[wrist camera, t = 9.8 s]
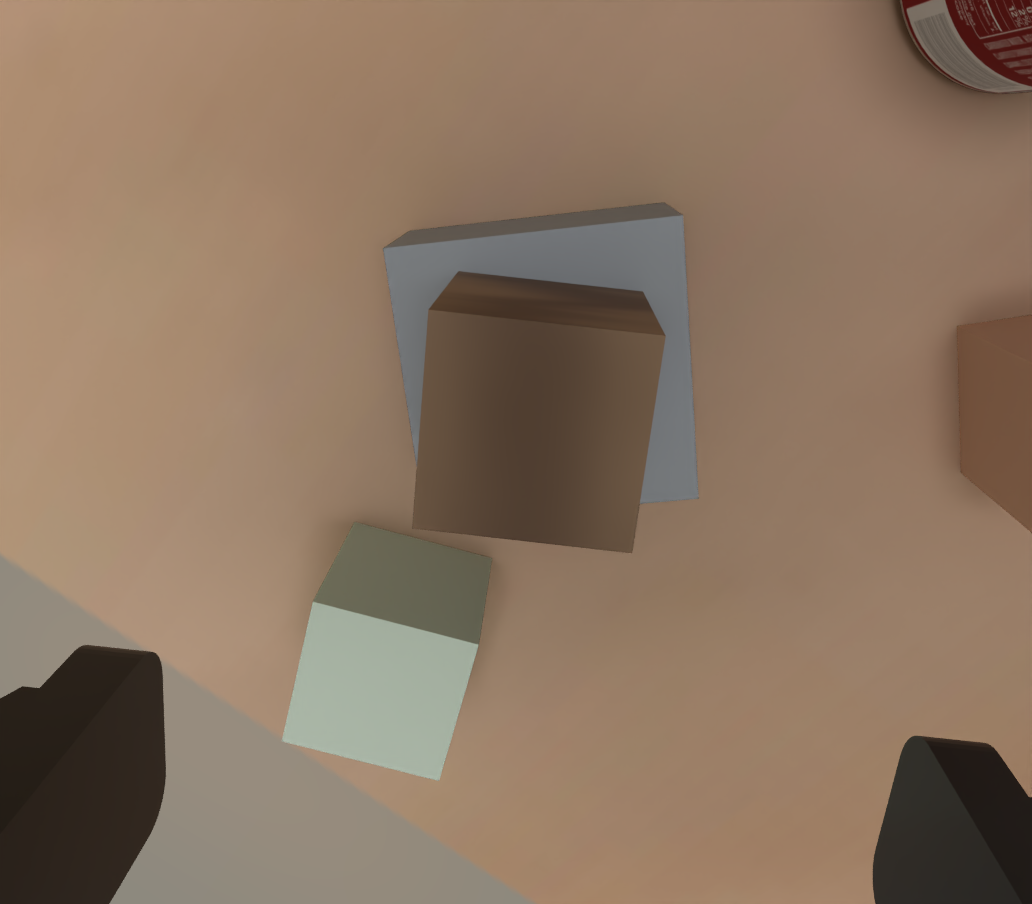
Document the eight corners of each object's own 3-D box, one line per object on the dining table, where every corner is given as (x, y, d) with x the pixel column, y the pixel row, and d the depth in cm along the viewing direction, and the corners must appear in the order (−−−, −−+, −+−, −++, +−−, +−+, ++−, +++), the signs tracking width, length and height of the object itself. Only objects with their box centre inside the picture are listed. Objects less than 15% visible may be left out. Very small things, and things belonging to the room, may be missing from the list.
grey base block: (663, 201, 30) (683, 215, 25) (678, 444, 32) (698, 498, 27) (411, 229, 30) (383, 248, 25) (444, 465, 33) (425, 522, 28)
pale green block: (492, 557, 34) (478, 644, 28) (458, 675, 35) (439, 780, 29) (355, 521, 33) (312, 601, 28) (327, 641, 35) (281, 741, 29)
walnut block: (642, 291, 26) (665, 335, 20) (617, 465, 27) (632, 553, 21) (458, 271, 26) (428, 309, 20) (444, 446, 27) (412, 528, 21)
